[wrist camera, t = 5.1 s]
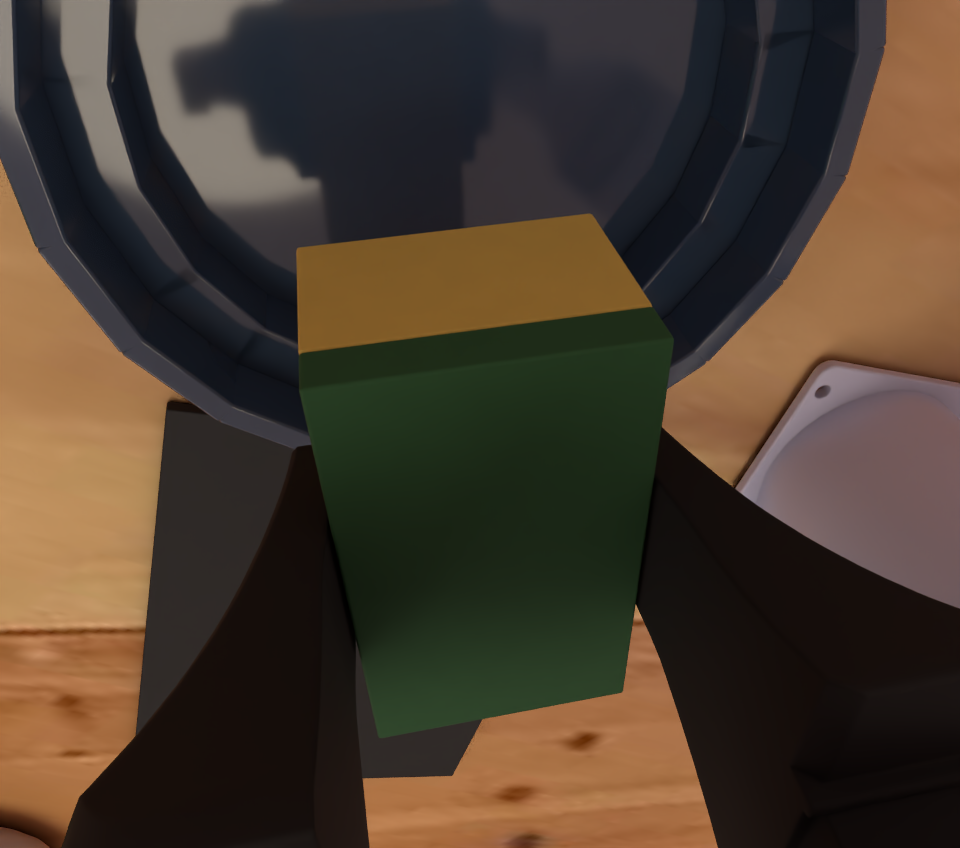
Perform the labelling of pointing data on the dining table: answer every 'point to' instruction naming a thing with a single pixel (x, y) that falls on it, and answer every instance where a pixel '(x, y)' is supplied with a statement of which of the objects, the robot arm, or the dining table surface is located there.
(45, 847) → the donut
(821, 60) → the bowl
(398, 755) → the drying mat
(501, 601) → the sponge
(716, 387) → the dining table surface
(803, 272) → the dining table surface
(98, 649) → the dining table surface
